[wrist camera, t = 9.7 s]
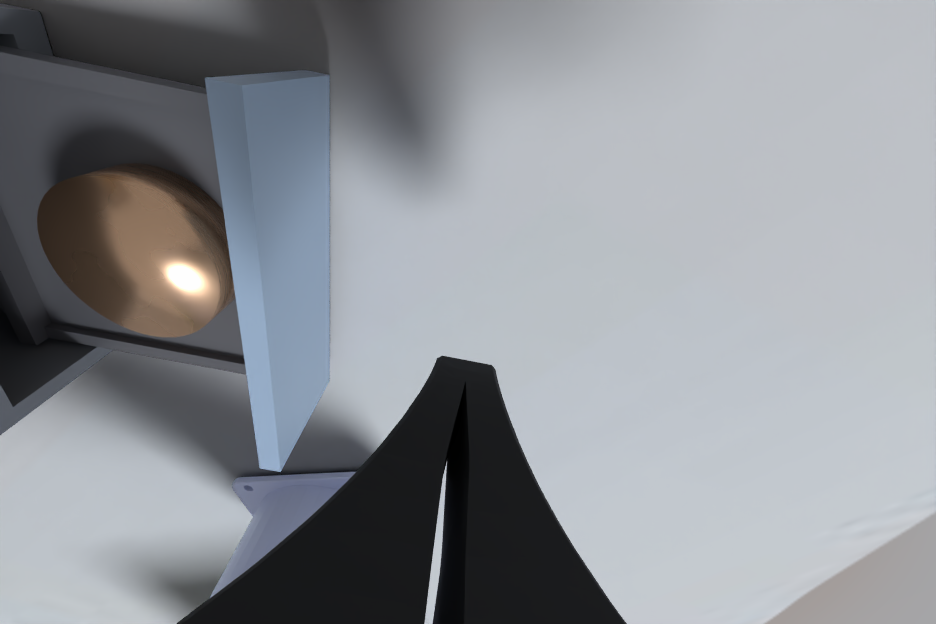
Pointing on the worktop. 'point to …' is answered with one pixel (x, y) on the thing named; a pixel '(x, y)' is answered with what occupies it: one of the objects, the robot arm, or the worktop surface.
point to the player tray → (220, 176)
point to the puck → (139, 247)
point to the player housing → (3, 357)
